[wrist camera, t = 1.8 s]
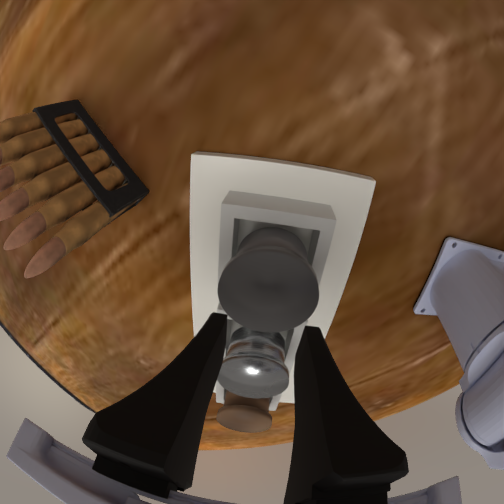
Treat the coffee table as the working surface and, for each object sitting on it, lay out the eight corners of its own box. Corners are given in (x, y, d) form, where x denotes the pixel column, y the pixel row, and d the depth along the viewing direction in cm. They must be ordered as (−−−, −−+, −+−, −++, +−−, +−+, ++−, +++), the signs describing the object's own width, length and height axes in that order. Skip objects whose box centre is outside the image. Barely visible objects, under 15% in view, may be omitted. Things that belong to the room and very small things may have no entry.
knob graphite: (322, 227, 15) (330, 261, 12) (304, 297, 18) (306, 337, 15) (233, 214, 16) (219, 245, 13) (228, 286, 18) (216, 324, 15)
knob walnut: (278, 382, 24) (275, 415, 20) (270, 406, 26) (267, 434, 23) (223, 374, 24) (216, 407, 21) (222, 399, 26) (216, 427, 23)
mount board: (370, 176, 17) (388, 193, 14) (295, 395, 31) (294, 420, 27) (196, 151, 17) (177, 162, 14) (200, 381, 31) (194, 405, 28)
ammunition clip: (65, 115, 16) (-52, 153, 6) (77, 98, 16) (-48, 128, 5) (136, 205, 20) (33, 298, 10) (150, 191, 19) (41, 284, 9)
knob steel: (296, 325, 20) (296, 365, 16) (283, 366, 22) (281, 401, 19) (226, 316, 20) (216, 354, 17) (224, 357, 22) (216, 392, 19)
